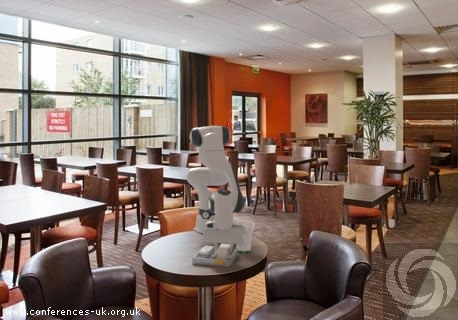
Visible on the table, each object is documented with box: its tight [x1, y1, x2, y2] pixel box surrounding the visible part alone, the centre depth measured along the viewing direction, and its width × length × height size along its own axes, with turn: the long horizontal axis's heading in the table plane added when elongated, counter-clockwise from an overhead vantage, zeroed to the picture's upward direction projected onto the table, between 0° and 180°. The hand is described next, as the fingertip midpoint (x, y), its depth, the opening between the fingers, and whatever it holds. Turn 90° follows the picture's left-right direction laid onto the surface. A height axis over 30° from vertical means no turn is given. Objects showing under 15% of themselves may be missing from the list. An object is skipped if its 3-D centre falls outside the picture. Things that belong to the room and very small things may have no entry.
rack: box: [191, 245, 238, 268], centre depth 194 cm, size 17×18×5 cm
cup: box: [233, 221, 256, 254], centre depth 206 cm, size 11×11×14 cm
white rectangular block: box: [217, 243, 231, 259], centre depth 193 cm, size 10×4×4 cm, turn 167°
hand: (223, 251), depth 193 cm, fingers closed on white rectangular block, 4 cm apart
